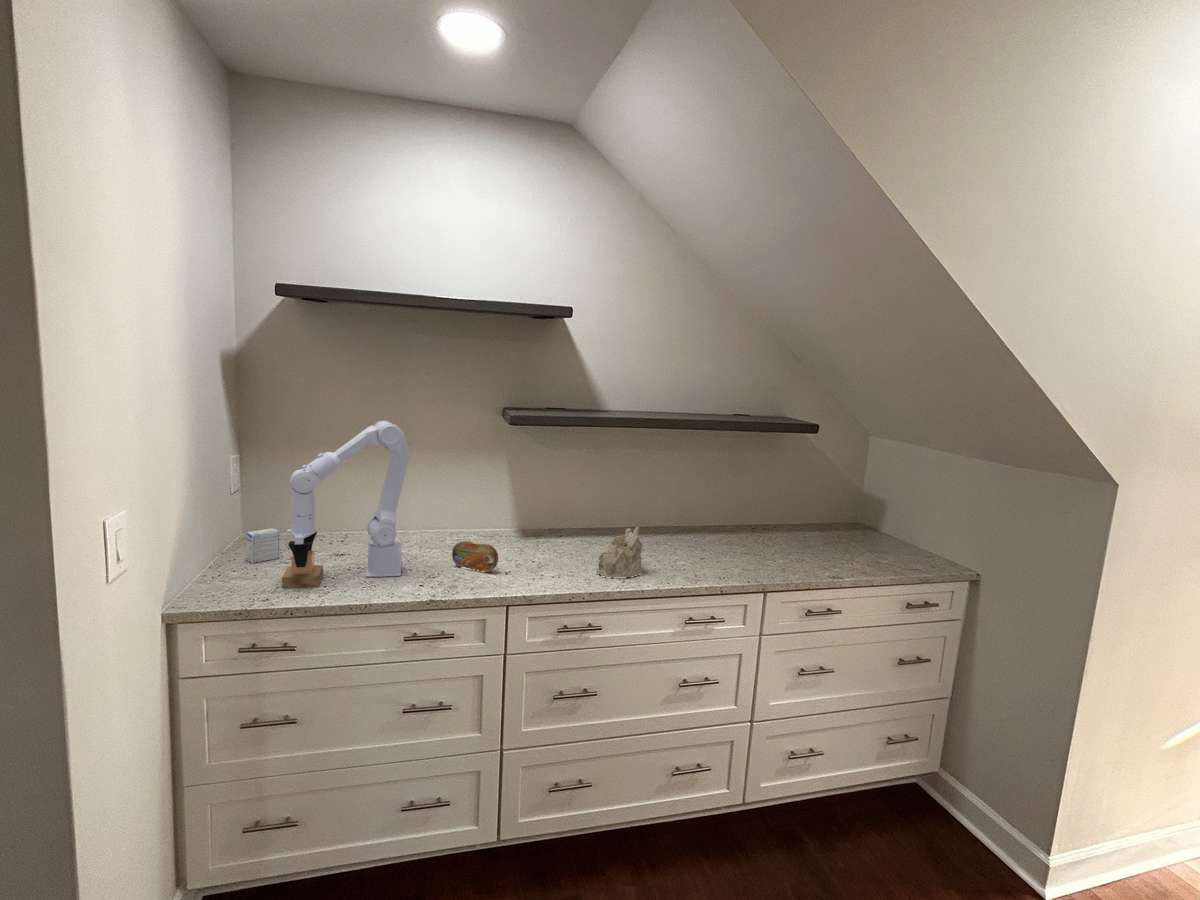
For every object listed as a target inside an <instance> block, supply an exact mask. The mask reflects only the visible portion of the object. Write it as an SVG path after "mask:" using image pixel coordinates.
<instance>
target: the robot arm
mask: <svg viewBox="0 0 1200 900" xmlns="http://www.w3.org/2000/svg"><path fill="white" fill-rule="evenodd" d="M405 434H406V433H404V432H403V430H402V429H401V428H400V427H399V426H398V425H397V424H394V423H391V422H390V421H388V420H386V419H385V420H379V421H377V422H375V424H374V425H373V424H372V425H370V426H368V427H366V428H365V429H364V430H362V431H361V432H360V433H358V434H357V435H355V436H354V437H353V438H351V439H350V440H349V441H348V442H346V443H344V445H342V446H340V447H339V448H337V449H336V450H335V451H334V452H331V451H326V452H324V453H322V452H319V454H317V458H315V459H313V460H312V461H311V462H308V464H307V465H306V464H303V465H302V468H301V469H297V470H294V472H293V473H292V474H291V476H290V478H289V483H290V485H291V487H292V489H291V499H290V500H291V501H290V502H291V503H290V506H291V507H290V509H291V514H290V515H291V517H290V518H291V526H290V527H291V528H288V529H286V534H290V535H292V536H293V538H294V540H293V541H289V542H288V547H289V549H290V550H291V552H292V555H294V559H295V564H296V567H297V568H298V567H305V566H306V562H307V556H308V551H309V550H313V544H314V541H315V538H316V536H317V534H318V532H317V531H316V528H315V527H316V526H315V525H316V524H315V523H316V522H315V521H316V520H315V519H316V518H315V517H316V513H315V509H316V505H315V503H316V501H315V498H316V497H315V489H316V487H317V485H318V483H321V482H322V481H324V480H326V479H327V478H328V477H330V476H332V475H333V474H334V473H336V472H337V471H339V470H340V468H341V465H342V462H343V461H345V460H347V459H349V458H350V457H352V456H353V455H354V454H356V453H358V452H360V451H361V450H363V449H364V448H366V447H373V446H374V447H376V446H377V447H379V446H380V444H381V445H383V447H384V448H385V449H386V451H387V452H388V454H389V456H390V459H389V462H388V466H387V470H386V474H385V478H384V482H383V485H382V490H381V493H380V497H379V502H378V506H377V509H375V511H374V513H373V517H372V518H371V519H370V521H369V522H368V524H367V527H366V528H367V529H366V530H367V533H368V534H369V535H370V538H369V540H368V541H367V542H368V543H367V544H368V545H367V546H368V547H367V568H366V571H365V578H377V577H379V578H380V577H400V576H402V568H403V561H402V542H397V541H396V537H397V530H396V524H397V516H396V515H397V514H396V512H397V508H398V503H399V501H400V495H401V491H402V487H403V486H404V485H403V484H404V480H405V476H406V472H407V468H408V463H409V460H410V456H411V452H410V448H409V445H408V443H407V440H406V435H405ZM379 443H380V444H379Z"/></svg>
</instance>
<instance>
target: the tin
mask: <svg viewBox="0 0 1200 900" xmlns="http://www.w3.org/2000/svg"><path fill="white" fill-rule="evenodd" d="M451 557H452V560H453V563H454V564H455V566H457V567H458V566H459V567H466V568H470V569H475V570H479V571H484V572H486V573H489V572H491V571H493V570H494V569H495V568H496V567H497V566H498V562H499V553H498V552H497V549H496V548H495V547H494V546H492V545H491V544H488V543H482V542H476V541H471V540H470V541H469V540H466V541H465V540H464V541H460V542H458V543H456V544H455V545H454V546H453V549H452V553H451ZM459 567H458V568H459Z"/></svg>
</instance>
